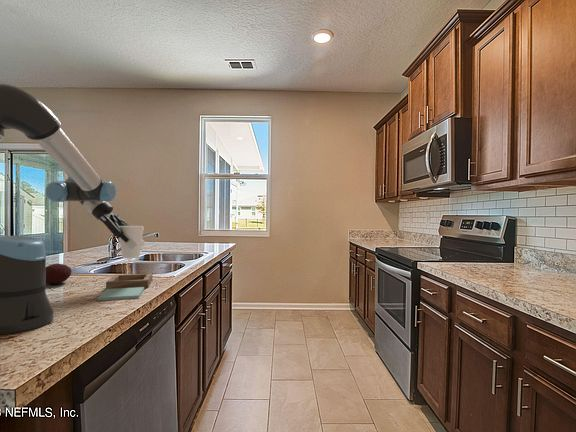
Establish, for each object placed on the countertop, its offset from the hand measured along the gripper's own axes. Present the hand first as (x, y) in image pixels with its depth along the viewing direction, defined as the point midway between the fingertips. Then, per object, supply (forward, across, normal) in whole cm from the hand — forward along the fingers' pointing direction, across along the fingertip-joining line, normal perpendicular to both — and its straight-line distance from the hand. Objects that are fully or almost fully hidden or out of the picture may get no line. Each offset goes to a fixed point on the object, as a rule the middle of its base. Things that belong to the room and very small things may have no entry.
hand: (138, 245), depth 135 cm
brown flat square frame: (+9, 0, -14) cm, 16 cm away
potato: (-13, -5, -36) cm, 38 cm away
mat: (+11, +17, -12) cm, 23 cm away
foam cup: (+1, 0, -6) cm, 6 cm away
